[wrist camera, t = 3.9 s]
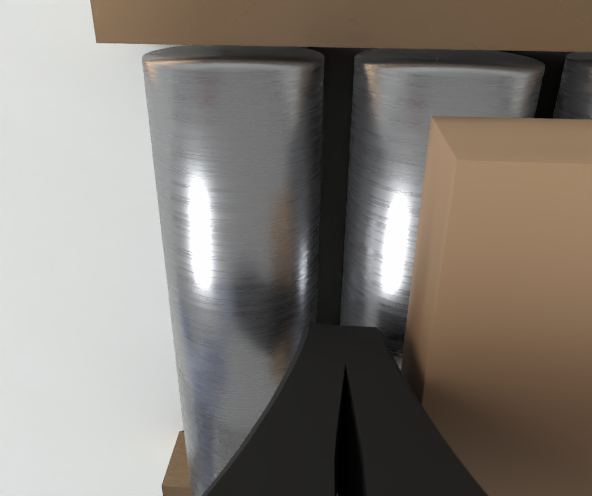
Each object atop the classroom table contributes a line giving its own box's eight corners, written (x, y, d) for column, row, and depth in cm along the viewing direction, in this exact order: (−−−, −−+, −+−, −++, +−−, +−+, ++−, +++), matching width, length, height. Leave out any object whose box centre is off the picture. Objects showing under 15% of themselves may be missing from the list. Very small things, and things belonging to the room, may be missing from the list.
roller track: (732, 483, 15) (817, 595, 12) (182, 452, 16) (150, 552, 13) (991, -5, 10) (1244, 8, 7) (127, -17, 10) (54, -7, 8)
